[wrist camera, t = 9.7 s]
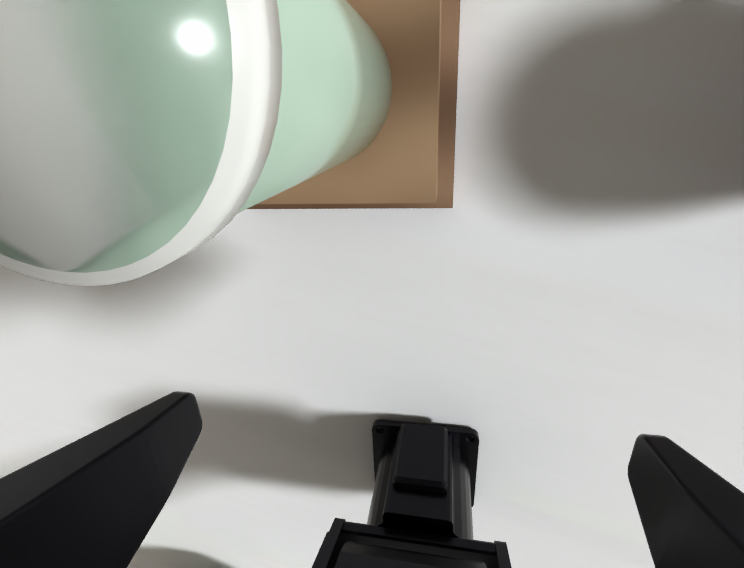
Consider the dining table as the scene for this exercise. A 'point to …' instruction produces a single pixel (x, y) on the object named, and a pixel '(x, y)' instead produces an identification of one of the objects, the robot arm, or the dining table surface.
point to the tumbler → (169, 122)
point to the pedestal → (400, 118)
